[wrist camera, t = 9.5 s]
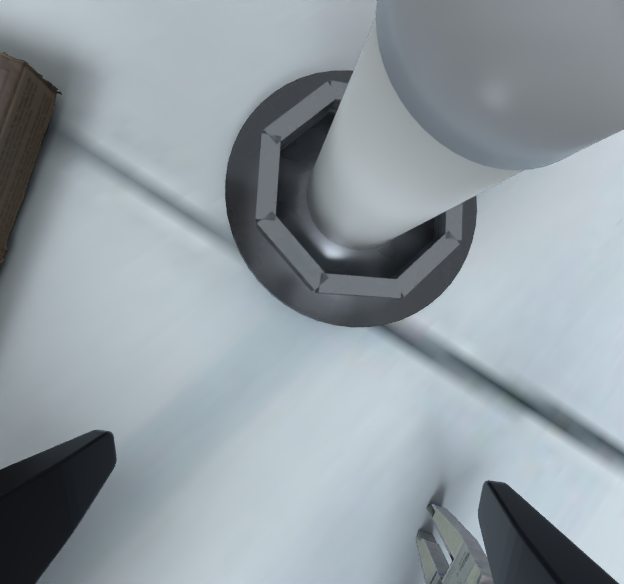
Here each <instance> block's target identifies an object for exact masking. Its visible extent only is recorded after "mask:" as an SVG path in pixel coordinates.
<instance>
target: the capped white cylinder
mask: <svg viewBox="0 0 624 584" xmlns="http://www.w3.org/2000/svg"><path fill="white" fill-rule="evenodd" d="M623 129H624V0H377V6H376V18H375V20H374V23H373V25H372V27H371V30H370V32H369V35H368V37H367V40H366V42H365V44H364V47H363V49H362V52H361V54H360V57H359V59H358V61H357V64H356V66H355V69H354V71H353V74H352V76H351V78H350V81H349V83H348V86H347V88H346V91H345V93H344V95H343V98H342V100H341V103H340V105H339V108H338V110H337V112H336V115H335V117H334V120H333V122H332V124H331V127H330V129H329V132H328V134H327V137H326V139H325V141H324V144H323V146H322V149H321V151H320V154H319V156H318V158H317V161H316V163H315V166H314V168H313V171H312V173H311V175H310V178H309V181H308V185H307V192H306V198H307V206H308V210H309V213H310V216H311V218H312V220H313V222H314V224H315V225H316V227H317V228H318V229H319V231H320V232H321V233H322V234H323V235H324V236H325V237H326V238H328V239H329V240H330V241H332V242H334V243H335V244H337V245H339V246H342V247H345V248H348V249H354V250H366V249H371V248H375V247H378V246H380V245H382V244H384V243H386V242H388V241H390V240H392V239H394V238H395V237H397V236H399V235H401V234H403V233H405V232H407V231H409V230H411V229H413V228H415V227H416V226H418V225H420V224H422V223H424V222H426V221H428V220H430V219H432V218H434V217H436V216H437V215H439V214H441V213H443V212H445V211H447V210H449V209H451V208H453V207H455V206H456V205H458V204H460V203H462V202H464V201H466V200H468V199H470V198H472V197H474V196H476V195H477V194H479V193H481V192H483V191H485V190H487V189H489V188H491V187H493V186H495V185H497V184H498V183H500V182H502V181H504V180H506V179H508V178H510V177H512V176H514V175H516V174H518V173H519V172H521V171H523V170H529V169H536V168H540V167H544V166H548V165H550V164H553V163H555V162H558V161H560V160H562V159H564V158H566V157H568V156H570V155H572V154H574V153H576V152H578V151H580V150H582V149H584V148H586V147H588V146H591V145H593V144H595V143H597V142H599V141H601V140H603V139H605V138H607V137H609V136H611V135H613V134H615V133H617V132H619V131H621V130H623Z"/></svg>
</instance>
